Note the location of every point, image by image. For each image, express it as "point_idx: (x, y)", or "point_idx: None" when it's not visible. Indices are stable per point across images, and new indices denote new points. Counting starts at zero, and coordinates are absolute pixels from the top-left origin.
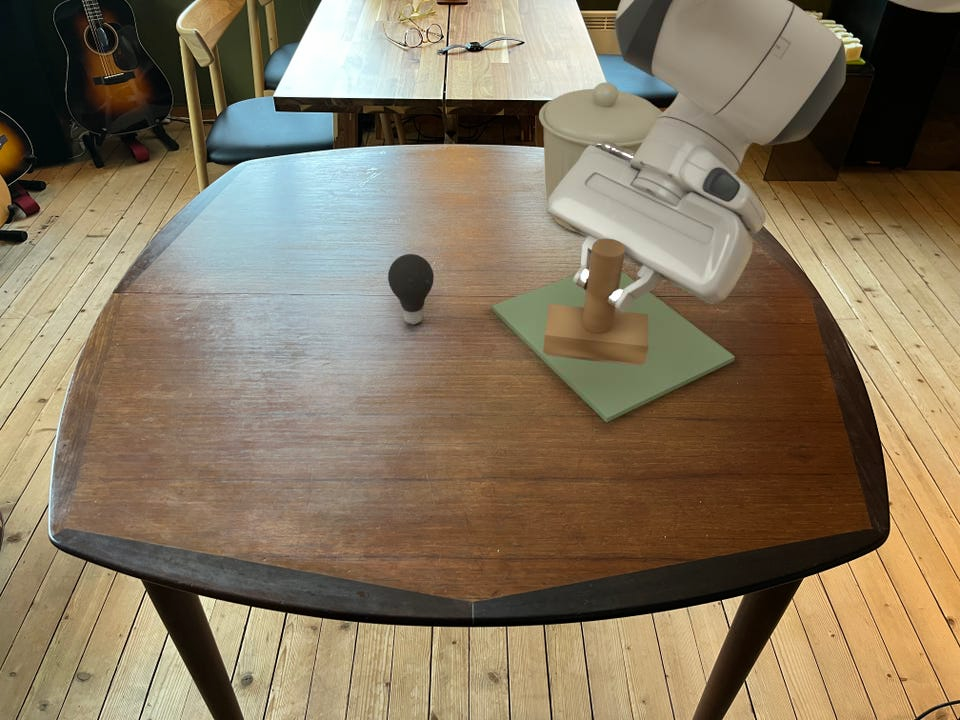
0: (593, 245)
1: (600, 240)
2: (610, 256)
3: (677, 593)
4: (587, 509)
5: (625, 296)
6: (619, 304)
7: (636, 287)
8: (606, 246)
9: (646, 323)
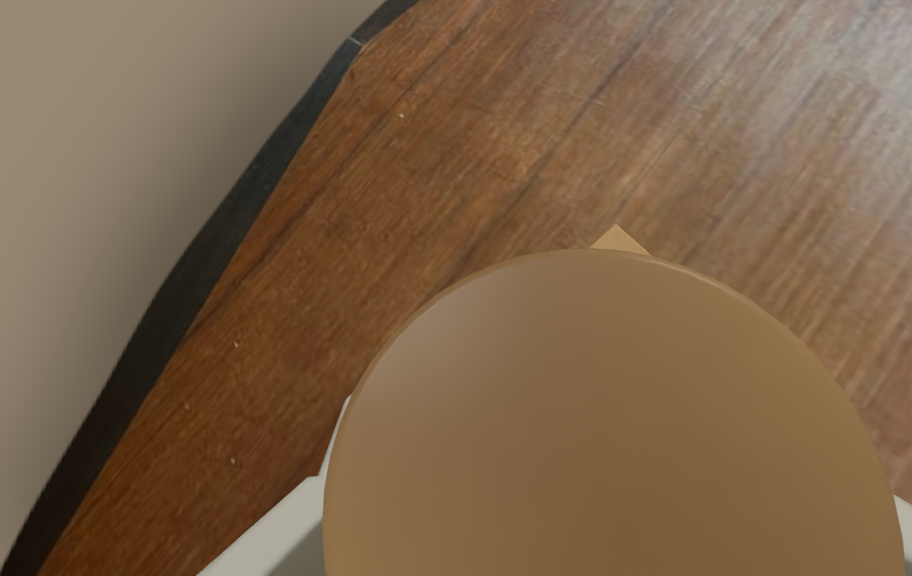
0: (775, 332)
1: (860, 568)
2: (391, 337)
3: (167, 279)
4: (362, 278)
5: (329, 448)
6: (348, 399)
7: (255, 526)
8: (626, 490)
9: None
